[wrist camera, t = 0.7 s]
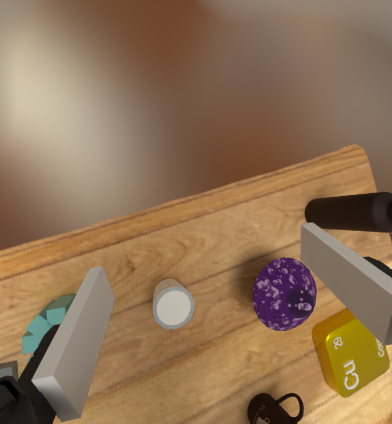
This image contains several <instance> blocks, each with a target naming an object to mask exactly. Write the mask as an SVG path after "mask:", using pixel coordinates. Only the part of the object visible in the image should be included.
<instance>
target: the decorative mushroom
mask: <svg viewBox="0 0 392 424" xmlns="http://www.w3.org/2000/svg"><path fill="white" fill-rule="evenodd" d="M316 293H317V291H316V285H315V281H314V279H313V277H312V275H311V273H310V271H309V269H308V268H307V267H306V266H305V265H304V264H303V263H301V262H300V261H298V260H296V259H294V258H284V257H283V258H280V259H276V260H273V261H272V262H270V263H269V264H268V265H266V266H265V267H264V268H263V269H262V271H261V272H260V273H259V275H258V276H257V278H256V281H255V284H254V286H253V296H252V300H253V305H254V310H255V312H256V314H257V316H258V318H259V320H261V321H262V322H263V323H264V324H265V325H266V326H267V327H268V328H271V329H273V330H276V331H287V330H290V329H292V328H295V327H297V326H298V325H301V324H302V323H303V322H304V321H305V320H307V319H308V317H309V316H310V315H311V313H312V312H313V309H314V307H315V302H316Z"/></svg>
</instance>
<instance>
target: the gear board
mask: <svg viewBox="0 0 392 424" xmlns="http://www.w3.org/2000/svg"><path fill="white" fill-rule="evenodd" d="M4 376H13V377H14V378H15V380H16V381H18V369H17V361H13V362H8V363H3V364H0V378H1V377H4Z"/></svg>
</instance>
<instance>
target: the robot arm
mask: <svg viewBox="0 0 392 424" xmlns="http://www.w3.org/2000/svg"><path fill="white" fill-rule="evenodd" d="M300 259H301V260H302V261H303V262H304V263H305V264H306V265H307V267H308V268H309V269H310V270H311V271H312V272H313V273H314V274H315V275H316V276H317V277H318V278H319V279H320V280H321V281H322V282H323V283H324V284H325V285H326V286H327V287H328V288H329V289H330V290H331V291H332V293H333V294H334V295H335V296H336V297H337V298H338V299H339V300H340V301H341V302H342V303H343V304H344V305H345V306H346V307H347V308H348V309H349V310H350V311H351V312H352V313H353V314H354V315H355V316H356V318H357V319H358V320H359V321H360V322H361V323H362V324H363V325H364V326H365V327H366V328H367V329H368V330H369V331H370V332H371V333H372V334H373V335H374V336H375V337H376V338H377V339H378V340H379V341H380V342H381V344H382V345H383V346H386V345H390V344H392V269H390V268H389V267H388V266H386V265H385V264H383V263H382V262H380V261H378V260H376V259H373V258H371V257H363V258H362V257H361V256H360V255H358V254H357V253H355V252H354V251H352V250H351V249H350V248H348V247H347V246H345V245H344V244H342V243H341V242H340V241H338V240H337V239H335V238H334V237H332V236H331V235H330V234H328V233H327V232H325V231H324V230H323V229H321V228H320V227H318V226H317V225H315V224H314V223H313V222H312V223H307V224H302V225H301V256H300ZM114 302H115V296H114V294H113V291H112V289H111V286H110V284H109V281H108V279H107V276H106V274H105V271H104V269H103V266H99V267H94V268H90V269H89V271H88V273H87V275H86V277H85V279H84V281H83V283H82V285H81V287H80V289H79V290H78V292H77V294H76V296H75V298H74V300H73V302H72V304H71V306H70V308H69V310H68V311H67V313H66V315H65V317H64V319H63V321H62V323H61V324H57V325H53V326H52V327H51V328H50V329H49V330H48V331H47V332H46V334H45V335H44V336H43V338H42V340H41V341H40V343H39V345H38V348H36V350H35V352H34V353H33V356H32V357H31V359H30V360H29V362H28V364H27V366H26V367H25V369H24V371H23V373H22V374H21V376H20V378H19V379H18V381H16V380H15V378H14V377H13V376H4V377H1V378H0V424H53V421H54V418H55V416H56V415H57V416H58V418H59V419H60V420H61V422H64V421H69V420H73V419H77V418H81V415H82V412H83V408H84V405H85V401H86V398H87V394H88V391H89V388H90V384H91V381H92V377H93V374H94V370H95V367H96V364H97V360H98V357H99V353H100V350H101V346H102V343H103V340H104V336H105V333H106V329H107V326H108V322H109V319H110V316H111V312H112V309H113V305H114Z"/></svg>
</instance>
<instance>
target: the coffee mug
mask: <svg viewBox="0 0 392 424" xmlns="http://www.w3.org/2000/svg"><path fill="white" fill-rule="evenodd" d="M289 397H296V398H297V399H298V401H299V405H300V411H299V414H298V416H297V417H291V416H290V415H289V414H288V413H287V412H286V411H285V410H284V409H283V408H282V407H281V406H280V405H279V403H281V402H282V401H284V400H285V399H287V398H289ZM303 412H304V406H303V402H302V400H301V398H300V397H299V396H298V395H297V394H295V393H289V394H286V395H284V396H282V397H281V398H279V399H278V400H274V399H273V398H272V397H271V396H270V395H269V394H266V393H261V394H258V395H257V396H255V397H254V398H253V399H252V400H251V402H250V404H249V406H248V418H249V420H250V423H251V424H297V422H299V421H300V420H301V419H302V417H303Z"/></svg>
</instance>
